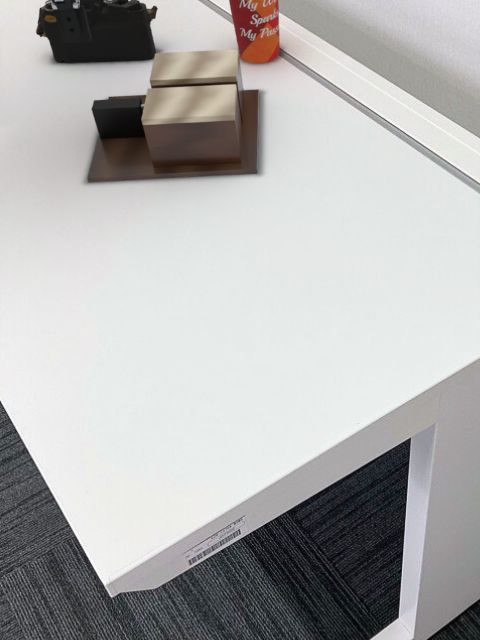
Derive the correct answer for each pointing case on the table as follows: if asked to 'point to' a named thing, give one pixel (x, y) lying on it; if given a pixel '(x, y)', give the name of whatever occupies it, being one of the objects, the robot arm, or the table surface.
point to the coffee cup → (256, 29)
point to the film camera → (104, 33)
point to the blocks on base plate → (187, 123)
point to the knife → (119, 118)
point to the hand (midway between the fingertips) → (84, 21)
